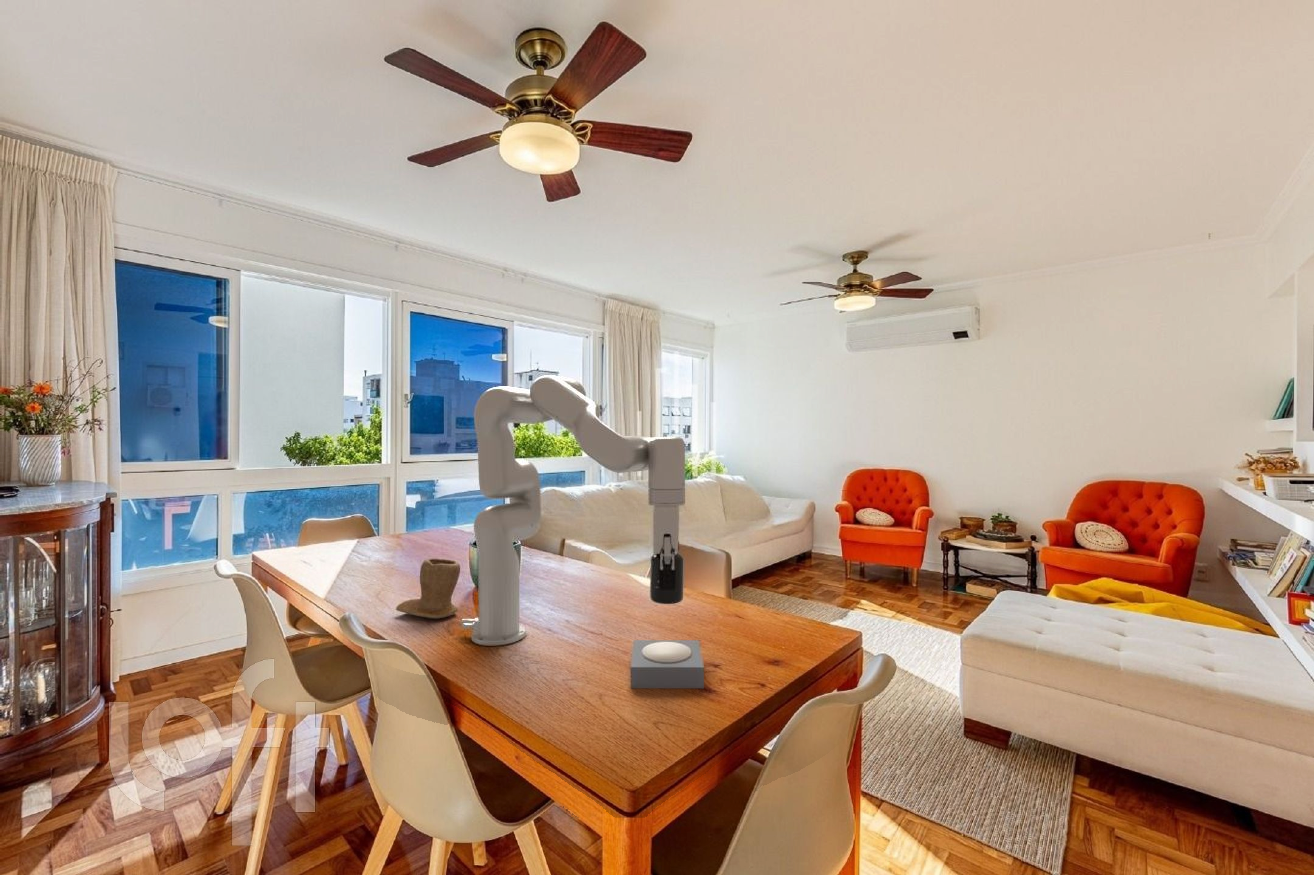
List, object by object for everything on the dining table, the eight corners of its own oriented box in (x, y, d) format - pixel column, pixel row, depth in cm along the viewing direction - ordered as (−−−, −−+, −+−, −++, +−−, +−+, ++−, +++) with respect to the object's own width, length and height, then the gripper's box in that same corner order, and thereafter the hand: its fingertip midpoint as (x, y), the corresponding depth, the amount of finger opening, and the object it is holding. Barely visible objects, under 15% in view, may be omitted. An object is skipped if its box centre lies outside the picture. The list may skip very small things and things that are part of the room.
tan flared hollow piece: (469, 612, 150) (469, 557, 150) (434, 625, 139) (434, 566, 139) (430, 604, 157) (430, 552, 157) (394, 616, 146) (394, 560, 146)
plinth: (630, 688, 104) (630, 665, 104) (633, 658, 118) (633, 638, 118) (703, 688, 104) (703, 665, 104) (698, 658, 118) (698, 638, 118)
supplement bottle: (659, 606, 106) (659, 545, 106) (644, 597, 112) (644, 539, 113) (690, 601, 110) (690, 542, 110) (673, 593, 116) (673, 536, 116)
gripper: (649, 493, 120) (649, 574, 120) (647, 502, 102) (647, 597, 102) (683, 493, 120) (683, 574, 120) (687, 501, 102) (687, 596, 102)
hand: (666, 583), depth 111 cm, fingers closed on supplement bottle, 6 cm apart
